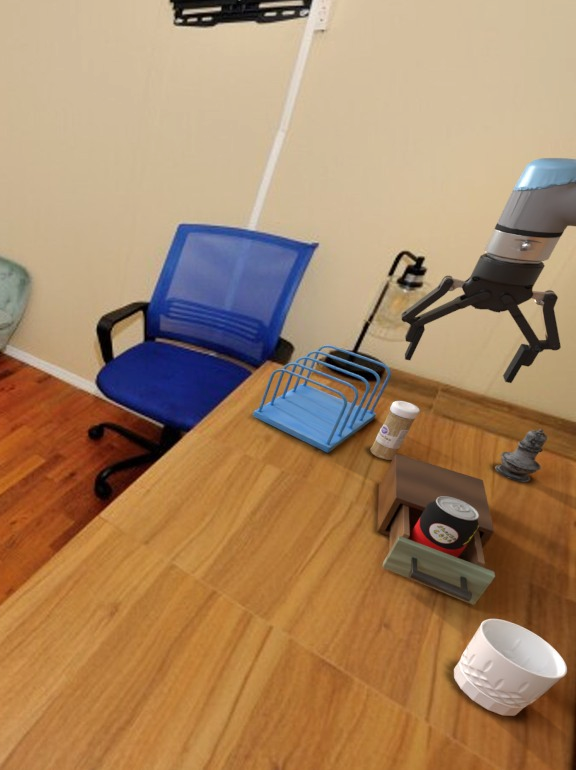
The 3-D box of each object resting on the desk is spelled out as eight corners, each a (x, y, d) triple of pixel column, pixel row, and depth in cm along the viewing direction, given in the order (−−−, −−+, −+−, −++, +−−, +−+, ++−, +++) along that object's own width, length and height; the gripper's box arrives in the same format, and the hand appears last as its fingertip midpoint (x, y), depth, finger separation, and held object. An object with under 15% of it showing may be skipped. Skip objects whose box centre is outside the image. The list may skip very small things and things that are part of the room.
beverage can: (393, 543, 91) (421, 493, 85) (429, 543, 90) (460, 493, 85) (421, 573, 85) (454, 522, 80) (460, 574, 85) (495, 522, 79)
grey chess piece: (487, 468, 111) (515, 424, 105) (501, 461, 113) (529, 417, 107) (523, 486, 106) (554, 440, 100) (537, 478, 108) (569, 433, 102)
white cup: (507, 732, 66) (549, 688, 62) (435, 675, 73) (468, 632, 68) (537, 705, 69) (579, 662, 64) (465, 653, 75) (498, 610, 71)
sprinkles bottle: (364, 449, 117) (387, 401, 111) (381, 447, 118) (405, 398, 111) (383, 462, 113) (408, 412, 107) (400, 459, 114) (426, 410, 107)
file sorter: (327, 454, 116) (351, 398, 108) (251, 417, 129) (268, 365, 122) (374, 419, 127) (399, 366, 120) (300, 388, 140) (318, 339, 133)
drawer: (477, 627, 78) (499, 597, 75) (381, 586, 84) (398, 557, 81) (465, 547, 91) (483, 519, 88) (383, 517, 98) (397, 490, 94)
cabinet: (469, 567, 88) (494, 531, 84) (377, 532, 96) (395, 497, 92) (461, 513, 99) (483, 479, 95) (378, 485, 107) (395, 452, 102)
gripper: (415, 250, 88) (369, 356, 98) (638, 278, 74) (558, 399, 84) (414, 240, 93) (370, 342, 103) (622, 265, 79) (549, 380, 89)
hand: (455, 368), depth 94 cm, fingers open, 13 cm apart
